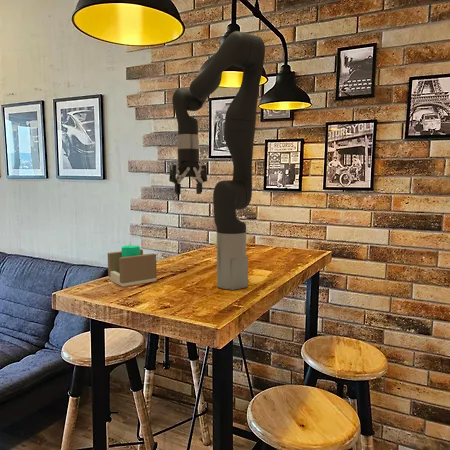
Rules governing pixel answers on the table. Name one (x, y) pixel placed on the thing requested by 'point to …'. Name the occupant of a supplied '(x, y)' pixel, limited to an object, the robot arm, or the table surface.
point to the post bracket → (131, 268)
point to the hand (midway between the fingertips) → (188, 194)
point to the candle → (130, 250)
